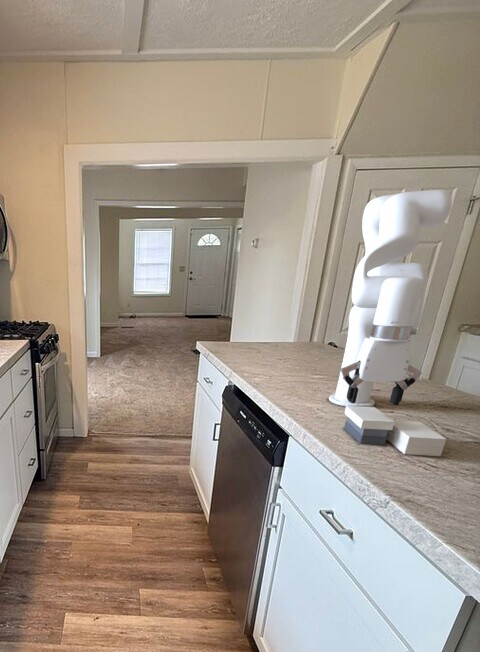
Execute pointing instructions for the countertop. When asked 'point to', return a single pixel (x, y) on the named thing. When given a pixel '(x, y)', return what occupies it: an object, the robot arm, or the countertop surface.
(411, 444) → the white books
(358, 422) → the white book
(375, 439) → the grey books
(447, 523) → the countertop surface
